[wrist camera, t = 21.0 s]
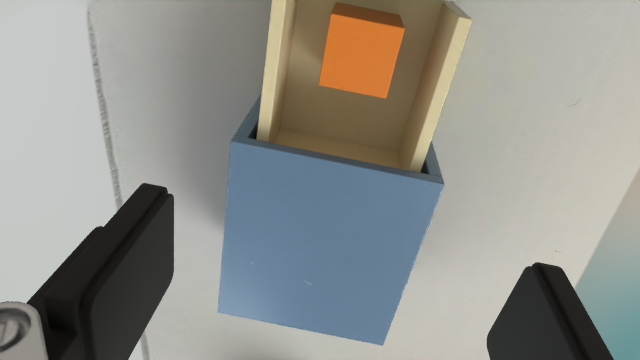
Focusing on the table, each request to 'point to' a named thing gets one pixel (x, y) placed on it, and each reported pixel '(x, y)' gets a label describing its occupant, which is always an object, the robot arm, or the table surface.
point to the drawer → (354, 108)
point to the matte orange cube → (361, 50)
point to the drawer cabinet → (320, 236)
